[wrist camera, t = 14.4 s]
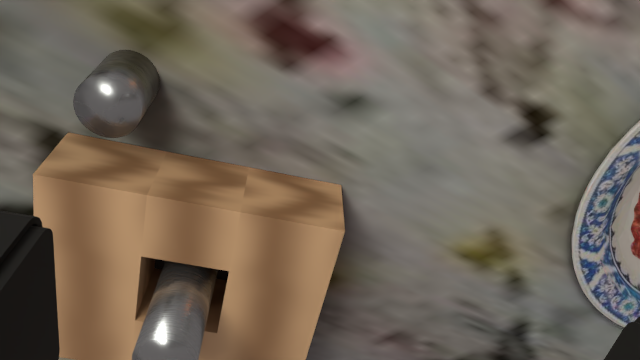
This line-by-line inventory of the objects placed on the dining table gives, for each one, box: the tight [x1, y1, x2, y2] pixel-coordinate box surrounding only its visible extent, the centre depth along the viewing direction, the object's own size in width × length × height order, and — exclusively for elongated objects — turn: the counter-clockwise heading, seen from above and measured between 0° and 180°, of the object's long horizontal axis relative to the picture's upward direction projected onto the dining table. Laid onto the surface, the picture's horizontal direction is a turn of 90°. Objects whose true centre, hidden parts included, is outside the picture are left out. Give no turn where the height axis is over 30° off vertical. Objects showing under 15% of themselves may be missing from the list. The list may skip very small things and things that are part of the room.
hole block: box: [33, 133, 345, 360], centre depth 44 cm, size 20×16×6 cm
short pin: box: [73, 50, 160, 138], centre depth 37 cm, size 4×4×5 cm
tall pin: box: [132, 261, 218, 360], centre depth 41 cm, size 4×4×12 cm
